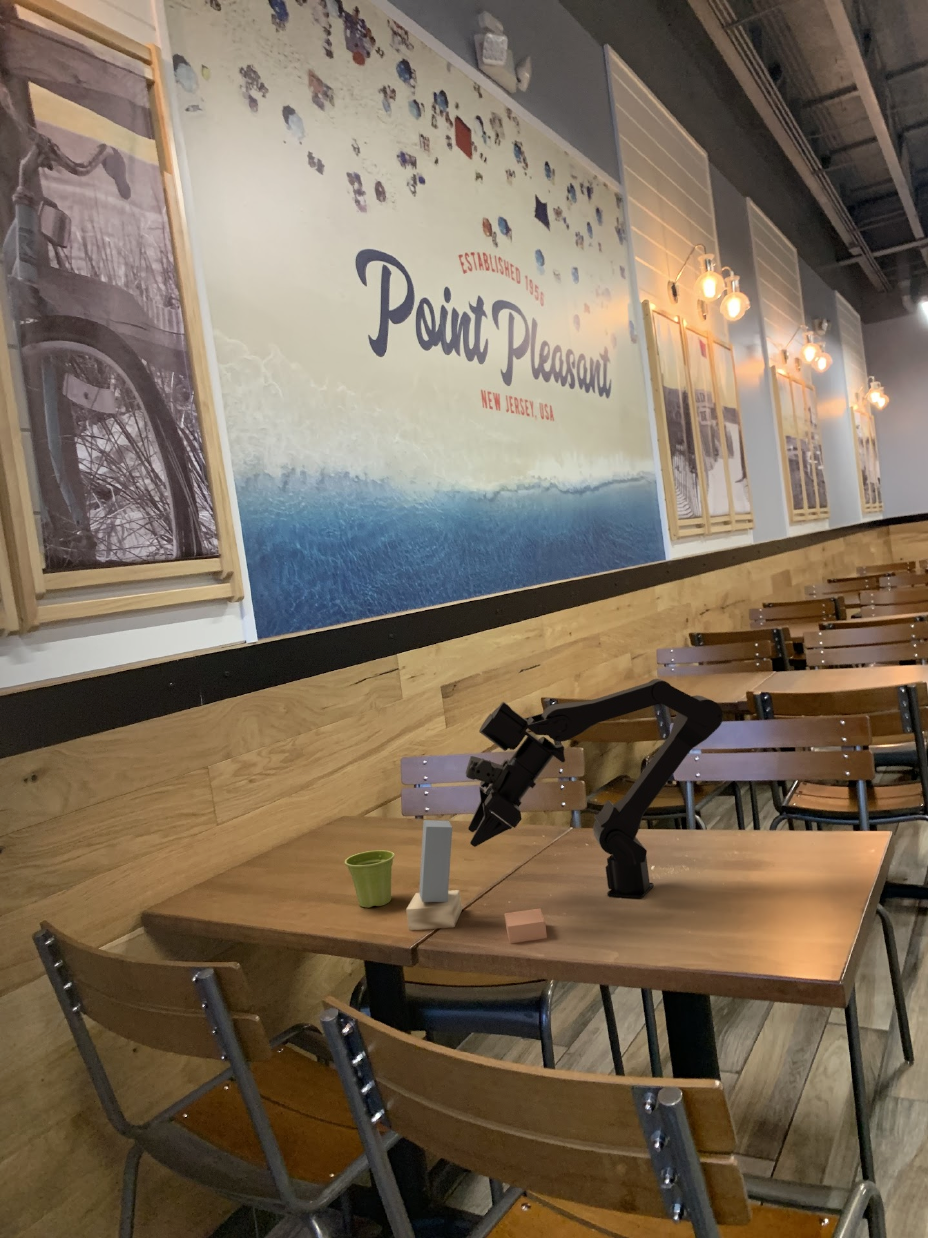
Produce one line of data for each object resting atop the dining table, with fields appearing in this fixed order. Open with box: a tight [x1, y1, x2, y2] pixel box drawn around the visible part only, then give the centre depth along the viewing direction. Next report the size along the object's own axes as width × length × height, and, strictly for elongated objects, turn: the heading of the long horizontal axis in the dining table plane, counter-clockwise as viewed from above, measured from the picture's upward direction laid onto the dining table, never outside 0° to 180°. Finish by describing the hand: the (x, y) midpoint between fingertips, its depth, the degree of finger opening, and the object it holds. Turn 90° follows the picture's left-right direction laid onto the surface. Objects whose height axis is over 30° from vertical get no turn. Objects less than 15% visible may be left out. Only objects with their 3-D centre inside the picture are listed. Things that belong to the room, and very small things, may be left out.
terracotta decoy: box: [503, 907, 548, 944], centre depth 150 cm, size 6×6×3 cm
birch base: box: [405, 889, 463, 931], centre depth 162 cm, size 8×8×4 cm
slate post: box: [418, 819, 453, 902], centre depth 161 cm, size 4×4×13 cm
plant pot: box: [344, 849, 396, 908], centre depth 175 cm, size 9×9×9 cm
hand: (471, 837), depth 162 cm, fingers open, 9 cm apart
